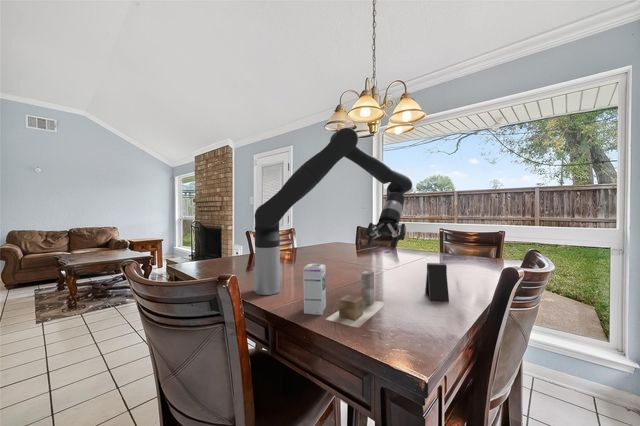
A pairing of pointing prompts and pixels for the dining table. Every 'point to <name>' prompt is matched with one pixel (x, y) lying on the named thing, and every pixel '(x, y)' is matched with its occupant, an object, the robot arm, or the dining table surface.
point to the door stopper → (437, 282)
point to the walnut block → (351, 307)
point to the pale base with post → (368, 303)
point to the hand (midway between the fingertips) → (380, 246)
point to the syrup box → (314, 289)
